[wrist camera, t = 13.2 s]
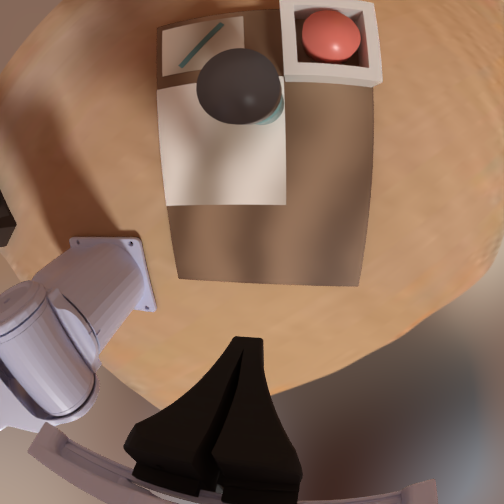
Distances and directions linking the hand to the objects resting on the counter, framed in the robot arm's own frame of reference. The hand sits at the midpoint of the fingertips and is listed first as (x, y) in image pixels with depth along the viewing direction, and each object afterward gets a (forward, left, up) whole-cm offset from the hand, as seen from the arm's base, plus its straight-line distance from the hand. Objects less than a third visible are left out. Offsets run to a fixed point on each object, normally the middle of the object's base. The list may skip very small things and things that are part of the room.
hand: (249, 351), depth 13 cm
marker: (0, +12, -9) cm, 15 cm away
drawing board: (0, +8, -10) cm, 13 cm away
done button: (+4, +16, -9) cm, 19 cm away
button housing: (+4, +16, -9) cm, 19 cm away
